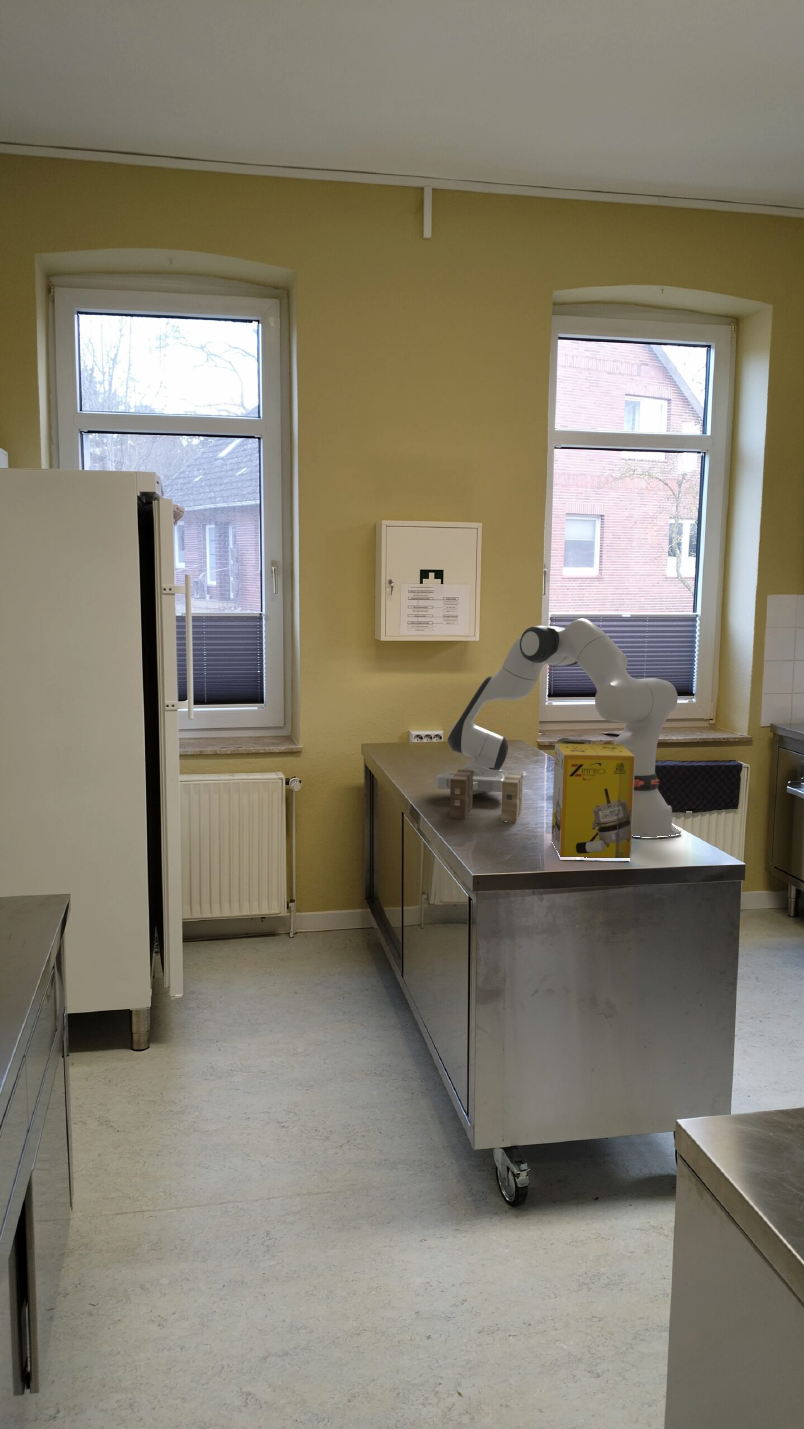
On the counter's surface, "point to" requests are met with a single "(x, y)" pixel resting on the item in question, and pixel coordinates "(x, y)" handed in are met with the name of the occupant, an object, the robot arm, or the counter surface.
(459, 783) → the walnut tile two
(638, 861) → the counter surface
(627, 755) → the packaging box
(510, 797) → the maple tile one
